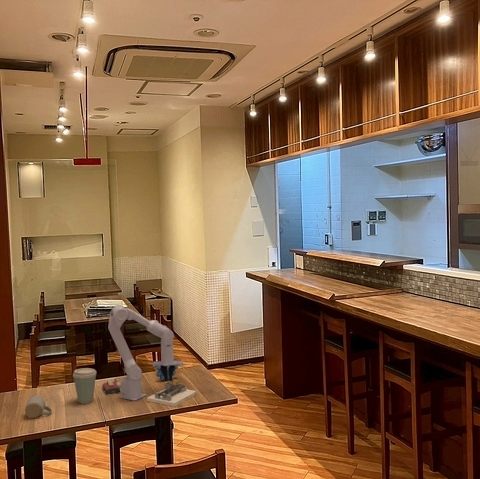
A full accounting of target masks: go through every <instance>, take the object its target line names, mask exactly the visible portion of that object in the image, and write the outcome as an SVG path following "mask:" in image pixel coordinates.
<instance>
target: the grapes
mask: <svg viewBox="0 0 480 479" xmlns="http://www.w3.org/2000/svg"><path fill="white" fill-rule="evenodd" d="M160 361H162V359H161V360H160ZM174 361H177V359H176V358H174ZM169 367H170V366H167V376H168V380H167V381H169V369H168V368H169ZM178 367H179V366H176V367H175V369H174V372H173V376H175V375H176V374H177V372H176V370H178ZM160 368H161V366H156V368H155V369H156V371H157V372H156V374H155V375H156V377H157V378H159V381H165V378H164V375H163V373H162V371H161V370H160ZM173 376H172V377H173Z"/></svg>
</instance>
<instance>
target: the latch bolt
mask: <svg viewBox="0 0 480 479" xmlns="http://www.w3.org/2000/svg"><path fill="white" fill-rule="evenodd" d="M168 382H169V384H174V386H175V385H177V384H180V382H181V380H179V379H175V378H174V379H173V378H172V380H170V381H169V380H168Z"/></svg>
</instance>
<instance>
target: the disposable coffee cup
mask: <svg viewBox="0 0 480 479" xmlns="http://www.w3.org/2000/svg"><path fill="white" fill-rule="evenodd" d="M96 376H97V370H96V369H95V368H89V367H85V368H84V367H83V368H78V369H75V370H74V371H73V373H72V378H73V381H74V386H75V391H76V396H77V401H78V403H79V404H84V405H85V404H90V403H92V402H93V401H94V396H95V387H96Z"/></svg>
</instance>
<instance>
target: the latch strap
mask: <svg viewBox="0 0 480 479" xmlns="http://www.w3.org/2000/svg"><path fill="white" fill-rule="evenodd" d="M184 387H186V385H185V384H180V383H178V384H176V385H175V384H174V386H173V387H171V388H169V389H167V390H165V391H163V392H161V393H159V396H164V397H166V395H167V394H172V393H174V392H176V391H178V390H180V389H182V388H184Z"/></svg>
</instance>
